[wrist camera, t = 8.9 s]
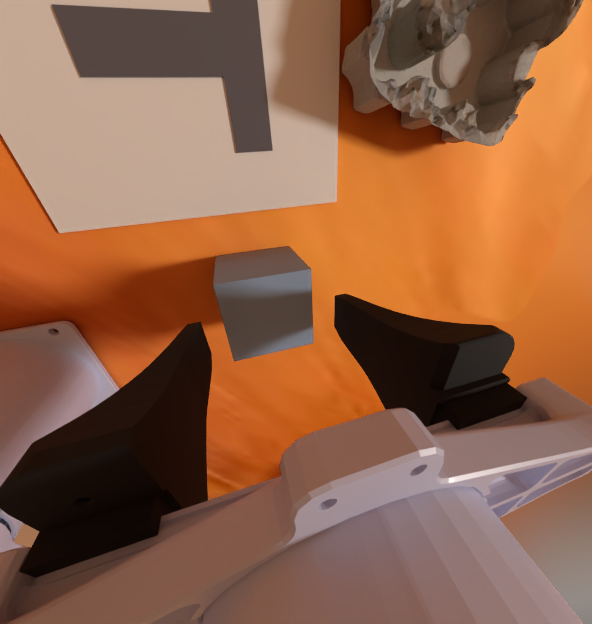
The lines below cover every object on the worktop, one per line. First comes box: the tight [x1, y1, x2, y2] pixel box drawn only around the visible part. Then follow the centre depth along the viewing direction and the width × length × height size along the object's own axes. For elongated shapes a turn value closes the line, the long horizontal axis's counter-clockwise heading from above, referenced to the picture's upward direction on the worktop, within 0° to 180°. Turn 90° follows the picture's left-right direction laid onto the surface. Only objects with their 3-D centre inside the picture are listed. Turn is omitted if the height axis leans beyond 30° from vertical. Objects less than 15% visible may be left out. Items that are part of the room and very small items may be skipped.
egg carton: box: [342, 0, 583, 146], centre depth 11 cm, size 11×8×4 cm
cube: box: [213, 246, 313, 361], centre depth 15 cm, size 5×5×5 cm
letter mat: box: [0, 0, 341, 233], centre depth 10 cm, size 16×14×1 cm
